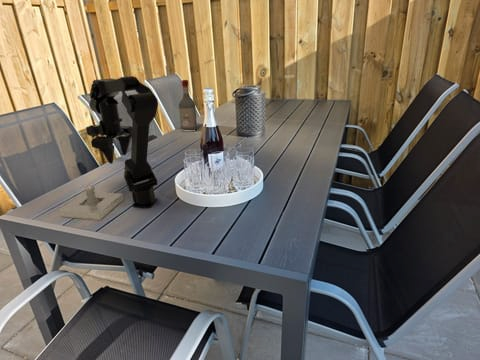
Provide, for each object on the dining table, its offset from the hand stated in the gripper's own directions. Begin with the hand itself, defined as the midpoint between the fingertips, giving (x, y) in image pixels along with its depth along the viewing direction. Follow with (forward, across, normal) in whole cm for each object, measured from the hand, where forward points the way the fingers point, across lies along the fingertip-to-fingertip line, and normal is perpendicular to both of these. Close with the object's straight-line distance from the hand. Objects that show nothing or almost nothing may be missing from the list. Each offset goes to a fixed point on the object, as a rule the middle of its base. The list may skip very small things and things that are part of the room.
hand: (118, 158), depth 117 cm
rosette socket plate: (+12, +16, -2) cm, 20 cm away
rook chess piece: (+12, +16, -2) cm, 20 cm away
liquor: (+12, -86, -4) cm, 87 cm away
